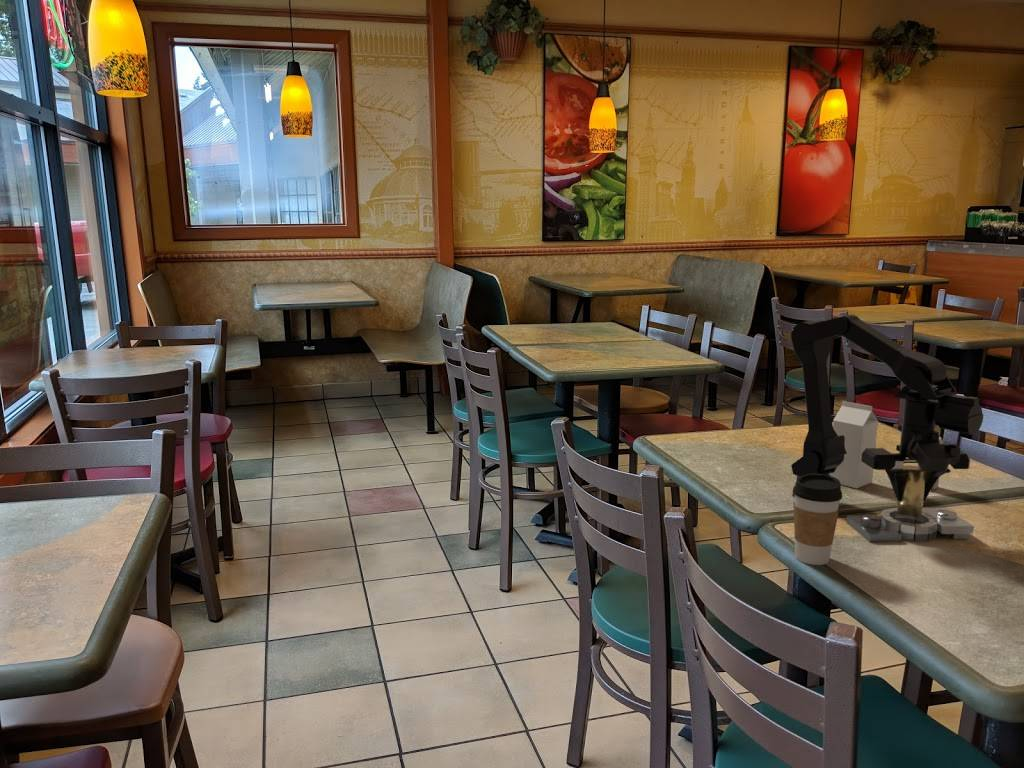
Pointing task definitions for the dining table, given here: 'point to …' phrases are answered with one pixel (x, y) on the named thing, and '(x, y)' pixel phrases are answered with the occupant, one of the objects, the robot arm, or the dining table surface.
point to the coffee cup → (815, 517)
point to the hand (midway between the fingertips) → (910, 500)
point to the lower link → (885, 529)
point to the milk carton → (855, 443)
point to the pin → (912, 492)
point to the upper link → (929, 522)
